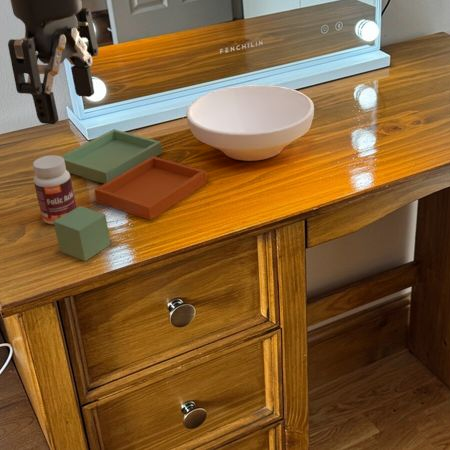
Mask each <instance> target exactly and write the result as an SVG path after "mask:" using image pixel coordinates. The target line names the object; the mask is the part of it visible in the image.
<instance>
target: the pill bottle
mask: <svg viewBox="0 0 450 450" xmlns="http://www.w3.org/2000/svg"><path fill="white" fill-rule="evenodd" d="M61 156H62V155H56V154H51V155H43V156H41V157H38V158H36V159H34V161H33V162H32V168H33V173H34V177H33V185H34V189H35V193H36V197H37V202H38V207H39V211H40V215H41V219H42V221H43V222H45V224H49V225H54V222H53V221H55V220H57V219H58V218H60V217H62V216H64V215H65V214H67V213H69V212H70V211H72V210H74V209H76V208H77V207H78V206H77V202H76V197H75V193H74V188H73V187H74V186H73V182H72V177H71V173H69V172H68V171H67V170H66V166H65V161H64V158H63V157H61Z"/></svg>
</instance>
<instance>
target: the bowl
mask: <svg viewBox="0 0 450 450" xmlns="http://www.w3.org/2000/svg"><path fill="white" fill-rule="evenodd" d="M314 105H315V104H314V102H313V100H312V99H311V98H310V97H309V96H307V95H306V94H304V93H302V92H301V91H298V90H296V89H292V88H289V87H286V86H285V87H284V86H280V85H270V84H247V85H246V84H245V85H236V86H231V87H225V88H220V89H217V90H214V91H211V92H207V93H205V94H203V95H201V96H199V97H198V98H196V99H195V100H194V101H192V103H191V104H189V106H188V107H187V109H186V113H185V116H186V120H187V124H188V128H189V130H190V132H191V134H192V135H193V136H194V137H195V139H196V140H198V141H200V142H201V143H204V144H206V145H208V146H211V147H213V148H214V149H217V150H218V151H220V152H222V153H223V154H224V155H225V156H227V157H229V158H231V159H234V160H238V161H245V162H246V161H249V162H250V161H253V162H254V161H261V160H267V159H269V158H272V157H275V156H277V155H278V154H280V153H281V152H282V151H283V150H284V148H286V147H287V146H289V144H291V143H293V142H294V141H295V140H297V139H299V138H302V136H304V135H305V134H306V133H308V131H309V130H310V128H311V126H312V123H313V119H314V115H315V106H314Z"/></svg>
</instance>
